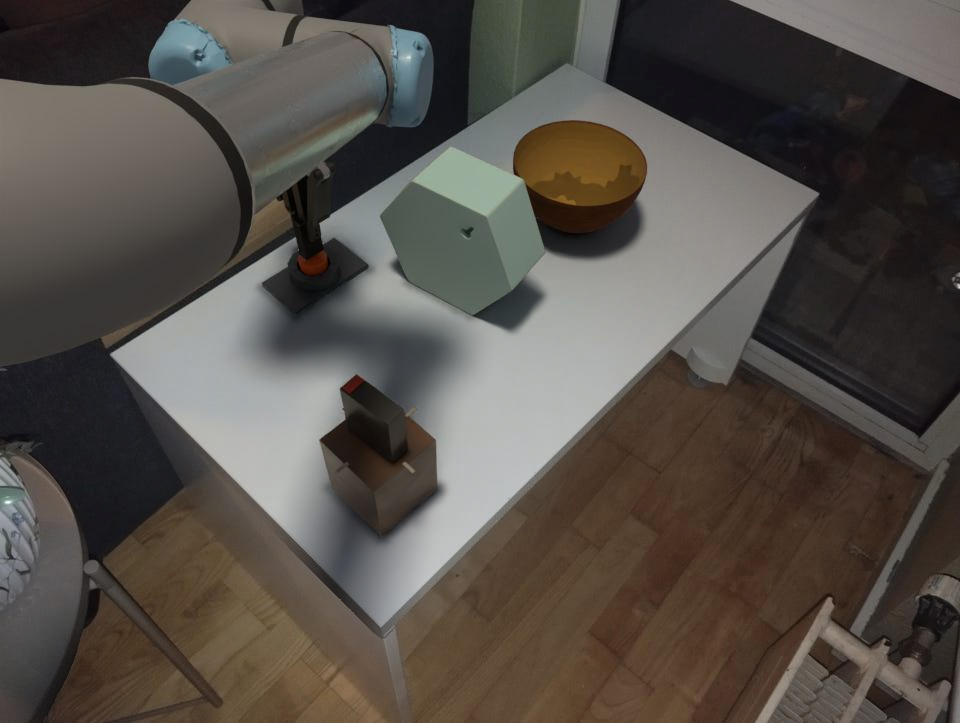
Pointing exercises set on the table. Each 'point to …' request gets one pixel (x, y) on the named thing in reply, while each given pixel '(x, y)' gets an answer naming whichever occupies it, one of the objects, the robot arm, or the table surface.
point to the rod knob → (374, 418)
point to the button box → (314, 277)
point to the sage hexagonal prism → (464, 231)
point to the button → (314, 264)
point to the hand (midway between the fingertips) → (311, 252)
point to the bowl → (579, 174)
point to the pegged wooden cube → (381, 474)
